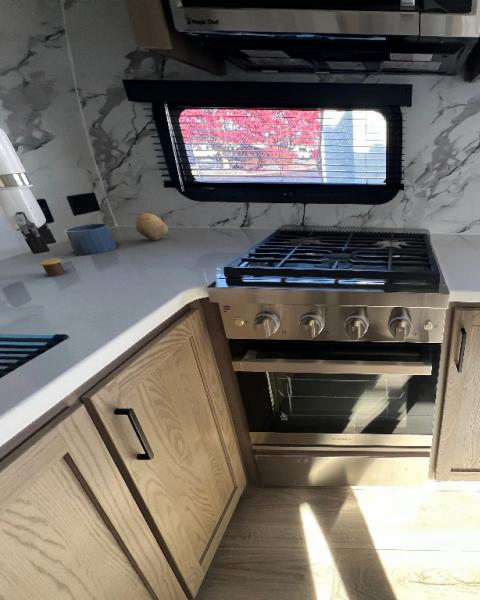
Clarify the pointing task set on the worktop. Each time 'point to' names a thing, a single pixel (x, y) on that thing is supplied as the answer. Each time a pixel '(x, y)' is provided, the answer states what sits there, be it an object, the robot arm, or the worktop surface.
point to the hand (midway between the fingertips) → (45, 248)
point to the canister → (91, 239)
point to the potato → (151, 226)
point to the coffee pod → (52, 267)
